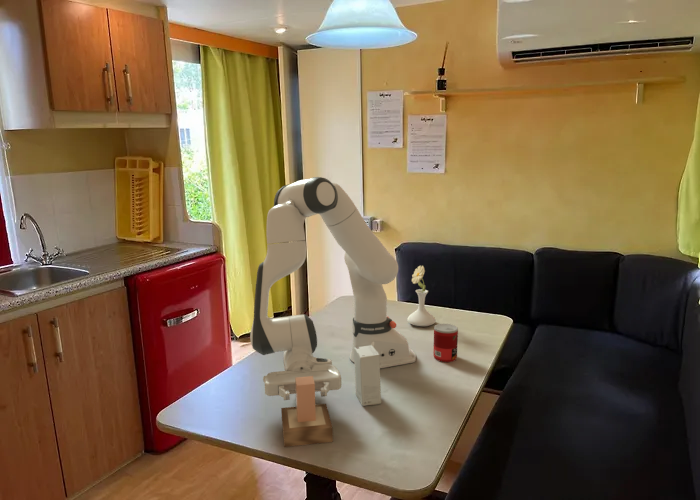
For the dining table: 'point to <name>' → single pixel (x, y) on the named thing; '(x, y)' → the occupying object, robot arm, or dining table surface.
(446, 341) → the canned food
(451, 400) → the dining table surface
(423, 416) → the dining table surface
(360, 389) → the skincare box
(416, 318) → the flower in vase
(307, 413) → the terracotta block
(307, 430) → the plinth
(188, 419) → the dining table surface
